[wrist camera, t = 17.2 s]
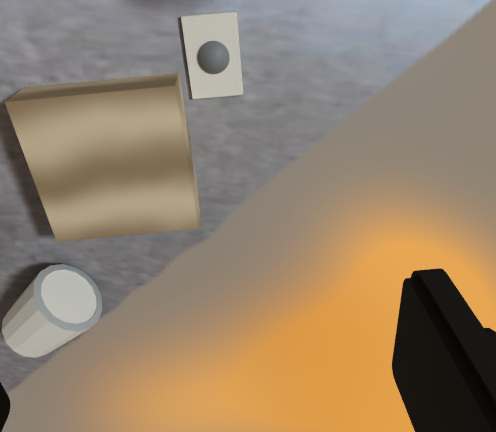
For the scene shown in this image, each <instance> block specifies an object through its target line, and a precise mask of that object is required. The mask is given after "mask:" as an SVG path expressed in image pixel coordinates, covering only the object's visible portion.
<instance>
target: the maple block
mask: <svg viewBox="0 0 496 432" xmlns="http://www.w3.org/2000/svg"><path fill="white" fill-rule="evenodd" d="M5 105H6V107H7V110H8V113H9V116H10V118H11V121H12V124H13V126H14V129H15V132H16V134H17V137H18V140H19V142H20V145H21V148H22V150H23V153H24V156H25V158H26V161H27V164H28V166H29V169H30V172H31V174H32V177H33V180H34V182H35V185H36V188H37V190H38V193H39V196H40V198H41V201H42V204H43V207H44V209H45V212H46V215H47V217H48V220H49V223H50V225H51V228H52V231H53V233H54V236H55V239H56V241H57V242H62V241H72V240H83V239H93V238H103V237H114V236H124V235H135V234H145V233H155V232H166V231H176V230H186V229H197V228H199V218H200V201H199V195H198V189H197V182H196V176H195V170H194V164H193V157H192V151H191V145H190V138H189V132H188V126H187V120H186V113H185V107H184V101H183V94H182V88H181V82H180V76H179V73H173V74H163V75H152V76H142V77H131V78H121V79H110V80H100V81H89V82H79V83H68V84H58V85H47V86H37V87H26V88H23V89H21V90H20V91H19V92H17V93H16V94H15V95H13V96H12V97H11V98H9V99H8V100H7V101H5Z"/></svg>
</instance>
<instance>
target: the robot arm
mask: <svg viewBox="0 0 496 432" xmlns="http://www.w3.org/2000/svg"><path fill="white" fill-rule="evenodd" d="M392 370H393V375H394V379H395V382H396V385H397V387H398V389H399V392H400V395H401V397H402V400H403V402H404V404H405V407H406V410H407V412H408V415H409V417H410V420H411V423H412V425H413V427H414V430H415V432H496V332H495V331H493V330H492V329H490V328H483V326H482V325H481V323H480V322H479V320H478V319H477V318H476V316H475V315H474V313H473V312H472V310H471V309H470V307H469V306H468V304H467V303H466V301H465V300H464V298H463V297H462V295H461V294H460V292H459V291H458V289H457V288H456V286H455V285H454V284H453V282H452V281H451V279H450V278H449V276H448V275H447V273H446V272H445V271H444V270H443V269H430V270H419V271H414V272H413V273H412V275H411V278H407V279H405V280H404V282H403V288H402V295H401V303H400V310H399V317H398V324H397V332H396V339H395V347H394V353H393V360H392ZM9 411H10V399H9V397H8V395H7V393H6V391H5V390H4V388H3V386H2V384H1V383H0V432H1V431H2V429H3V426H4V424H5V422H6V420H7V418H8V415H9Z"/></svg>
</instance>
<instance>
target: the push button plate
mask: <svg viewBox="0 0 496 432" xmlns="http://www.w3.org/2000/svg"><path fill="white" fill-rule="evenodd" d="M181 21H182V28H183V35H184V42H185V49H186V56H187V63H188V70H189V77H190V84H191V91H192V98H193V99H201V98H213V97H224V96H235V95H243V85H242V73H241V61H240V48H239V36H238V23H237V12H236V11H234V12H223V13H212V14H200V15H189V16H181Z"/></svg>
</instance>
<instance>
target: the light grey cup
mask: <svg viewBox="0 0 496 432" xmlns="http://www.w3.org/2000/svg"><path fill="white" fill-rule="evenodd" d="M101 312H102V297H101V295H100V292H99V290H98V288H97V285H96V284H95V283H94V282H93V281H92V280H91V278H90V277H89V276H88V275H87V274H85V273H84V272H82V271H80V270H79V269H77V268H75V267H72V266H68V265H64V264H60V265H50V266H49V267H47V268H45V269H44V270H42V271H40V273H39V274H38V275H37V276H36V277H35V279H34V280H33V281H32V282H31V284H30V285H29V286H28V287H27V289H26V290H25V291H24V292H23V294H22V295H21V296H20V297H19V298H18V300H17V301H16V302H15V303H14V305H13V306H12V307H11V308H10V310H9V311H8V312H7V314H6V315H5V317H4V319H3V322H2V333H3V336H4V339H5V342H6V343H7V344H8V345H9V346H10V348H11V349H12V350H13V351H15V352H17V353H19V354H21V355H22V356H26V357H35V358H36V357H39V356H43V355H46V354H48V353H49V352H51V351H53V350H54V349H56V348H58V347H59V346H61V345H63V344H64V343H66V342H68V341H69V340H71V339H73V338H74V337H76V336H78V335H79V334H81V333H83V332H84V331H86V330H88V329H89V328H91V327H92V326H93V325H94V324H95V323H96V322H97V321H98V320H99V317H100V315H101Z"/></svg>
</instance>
